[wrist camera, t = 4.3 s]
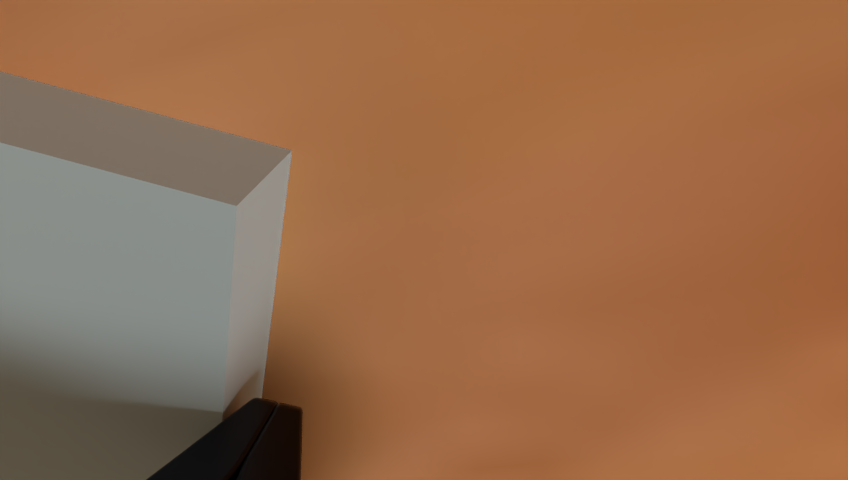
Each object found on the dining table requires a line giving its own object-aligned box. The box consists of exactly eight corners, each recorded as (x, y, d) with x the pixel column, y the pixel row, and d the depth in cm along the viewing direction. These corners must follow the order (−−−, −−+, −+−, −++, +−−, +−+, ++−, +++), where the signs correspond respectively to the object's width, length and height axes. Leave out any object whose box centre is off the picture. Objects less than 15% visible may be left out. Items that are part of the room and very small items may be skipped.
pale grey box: (260, 467, 12) (211, 574, 10) (4, 399, 12) (-97, 492, 10) (302, 140, 8) (236, 206, 6) (-75, 38, 8) (-264, 71, 6)
